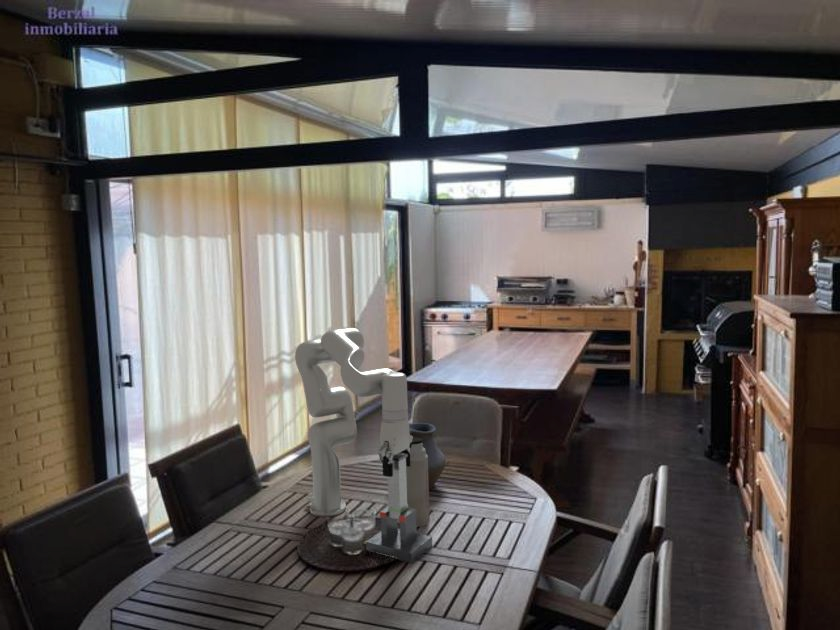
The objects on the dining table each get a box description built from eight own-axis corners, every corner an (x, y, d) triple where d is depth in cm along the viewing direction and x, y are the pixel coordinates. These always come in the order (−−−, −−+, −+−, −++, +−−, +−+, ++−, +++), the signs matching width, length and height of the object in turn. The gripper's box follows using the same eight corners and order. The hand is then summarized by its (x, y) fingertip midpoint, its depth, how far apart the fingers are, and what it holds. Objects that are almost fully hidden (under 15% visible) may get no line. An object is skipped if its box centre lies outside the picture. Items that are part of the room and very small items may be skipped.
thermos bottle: (431, 517, 212) (429, 436, 209) (427, 527, 204) (424, 443, 201) (408, 515, 213) (405, 435, 211) (403, 525, 206) (400, 442, 203)
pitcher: (456, 483, 242) (455, 419, 240) (426, 502, 224) (424, 434, 222) (411, 474, 253) (409, 413, 251) (379, 492, 235) (377, 427, 233)
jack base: (366, 551, 189) (364, 512, 188) (388, 535, 199) (387, 498, 198) (411, 563, 181) (410, 523, 180) (432, 546, 191) (431, 508, 190)
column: (387, 517, 188) (385, 456, 186) (396, 511, 192) (394, 451, 190) (400, 520, 186) (398, 458, 184) (409, 514, 190) (407, 453, 188)
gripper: (400, 406, 195) (401, 460, 197) (367, 420, 180) (369, 478, 182) (420, 409, 191) (422, 463, 193) (389, 423, 177) (391, 482, 178)
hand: (396, 470), depth 188 cm, fingers open, 9 cm apart
